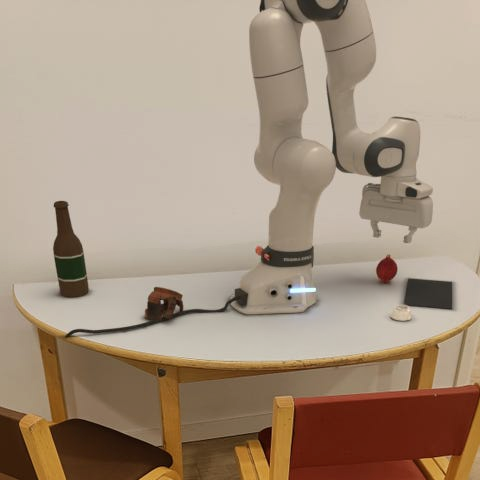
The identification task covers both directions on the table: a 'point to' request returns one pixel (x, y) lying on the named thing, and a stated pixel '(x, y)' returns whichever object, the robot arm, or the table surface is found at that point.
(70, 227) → the beer bottle
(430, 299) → the placemat
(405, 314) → the white jar
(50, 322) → the table surface
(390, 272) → the red round fruit
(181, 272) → the table surface
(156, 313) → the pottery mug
